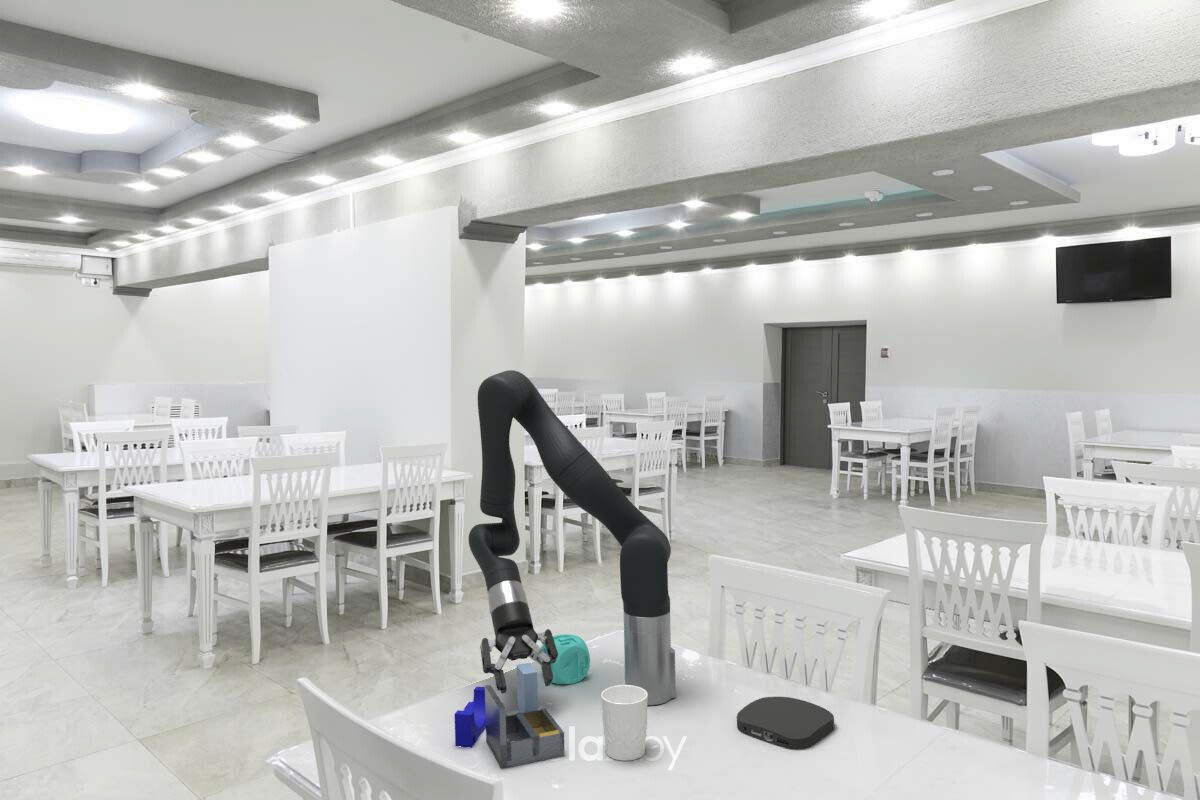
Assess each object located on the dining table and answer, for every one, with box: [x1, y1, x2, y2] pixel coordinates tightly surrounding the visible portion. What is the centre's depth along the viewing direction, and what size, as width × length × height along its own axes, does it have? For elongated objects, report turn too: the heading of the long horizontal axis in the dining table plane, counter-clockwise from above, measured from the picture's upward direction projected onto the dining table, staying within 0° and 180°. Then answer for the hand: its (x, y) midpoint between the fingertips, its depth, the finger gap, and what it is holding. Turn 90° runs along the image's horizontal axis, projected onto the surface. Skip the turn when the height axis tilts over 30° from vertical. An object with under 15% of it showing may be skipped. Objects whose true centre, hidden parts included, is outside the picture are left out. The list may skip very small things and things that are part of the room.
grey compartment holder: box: [484, 684, 566, 770], centre depth 139 cm, size 11×10×10 cm
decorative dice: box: [540, 633, 591, 685], centre depth 170 cm, size 8×8×8 cm
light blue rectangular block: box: [516, 662, 539, 713], centre depth 150 cm, size 2×5×10 cm, turn 21°
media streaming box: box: [736, 696, 835, 751], centre depth 145 cm, size 15×15×3 cm
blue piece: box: [453, 686, 486, 749], centre depth 146 cm, size 12×4×6 cm, turn 170°
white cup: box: [600, 684, 648, 762], centre depth 137 cm, size 8×8×10 cm
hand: (526, 687), depth 150 cm, fingers open, 8 cm apart
